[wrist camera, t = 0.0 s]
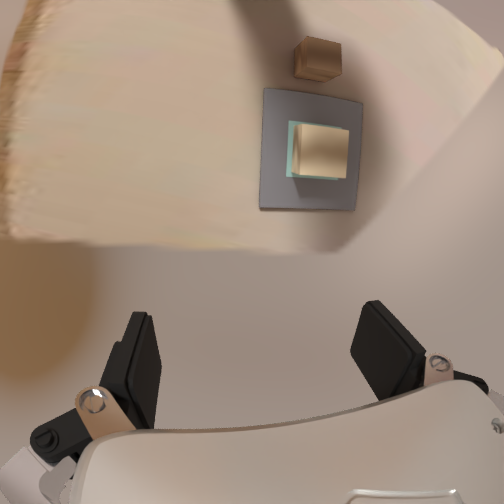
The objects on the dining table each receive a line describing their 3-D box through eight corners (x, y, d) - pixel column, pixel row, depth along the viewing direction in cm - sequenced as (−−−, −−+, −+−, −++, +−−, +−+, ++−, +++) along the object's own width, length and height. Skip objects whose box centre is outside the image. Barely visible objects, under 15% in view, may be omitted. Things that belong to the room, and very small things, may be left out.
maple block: (293, 125, 36) (302, 123, 33) (337, 131, 37) (349, 130, 34) (291, 171, 39) (299, 174, 35) (334, 175, 40) (345, 178, 36)
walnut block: (294, 49, 32) (307, 36, 27) (325, 55, 33) (341, 43, 28) (294, 77, 34) (307, 66, 29) (324, 82, 35) (341, 74, 29)
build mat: (263, 88, 34) (264, 87, 34) (361, 104, 37) (362, 103, 36) (258, 206, 41) (259, 207, 40) (353, 209, 43) (355, 210, 43)
